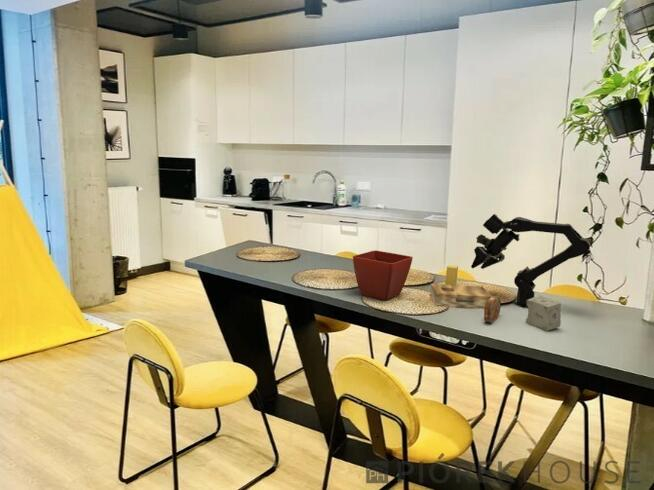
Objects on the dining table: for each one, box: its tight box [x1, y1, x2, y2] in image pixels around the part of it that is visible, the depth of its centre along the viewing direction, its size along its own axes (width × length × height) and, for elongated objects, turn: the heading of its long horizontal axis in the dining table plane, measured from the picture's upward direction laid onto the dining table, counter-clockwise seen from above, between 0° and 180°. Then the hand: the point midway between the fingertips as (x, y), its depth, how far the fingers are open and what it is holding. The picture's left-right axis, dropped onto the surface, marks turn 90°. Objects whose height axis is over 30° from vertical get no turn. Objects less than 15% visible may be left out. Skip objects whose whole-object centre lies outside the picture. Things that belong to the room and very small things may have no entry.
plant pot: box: [352, 250, 413, 301], centre depth 220 cm, size 19×19×17 cm
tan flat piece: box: [429, 283, 493, 309], centre depth 216 cm, size 22×16×5 cm
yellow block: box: [444, 264, 459, 285], centre depth 228 cm, size 4×4×12 cm
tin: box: [483, 295, 502, 324], centre depth 196 cm, size 15×3×8 cm, turn 148°
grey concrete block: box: [525, 295, 562, 332], centre depth 191 cm, size 10×8×10 cm
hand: (476, 267), depth 224 cm, fingers open, 9 cm apart
